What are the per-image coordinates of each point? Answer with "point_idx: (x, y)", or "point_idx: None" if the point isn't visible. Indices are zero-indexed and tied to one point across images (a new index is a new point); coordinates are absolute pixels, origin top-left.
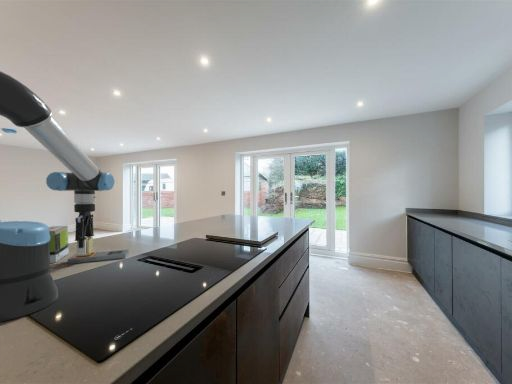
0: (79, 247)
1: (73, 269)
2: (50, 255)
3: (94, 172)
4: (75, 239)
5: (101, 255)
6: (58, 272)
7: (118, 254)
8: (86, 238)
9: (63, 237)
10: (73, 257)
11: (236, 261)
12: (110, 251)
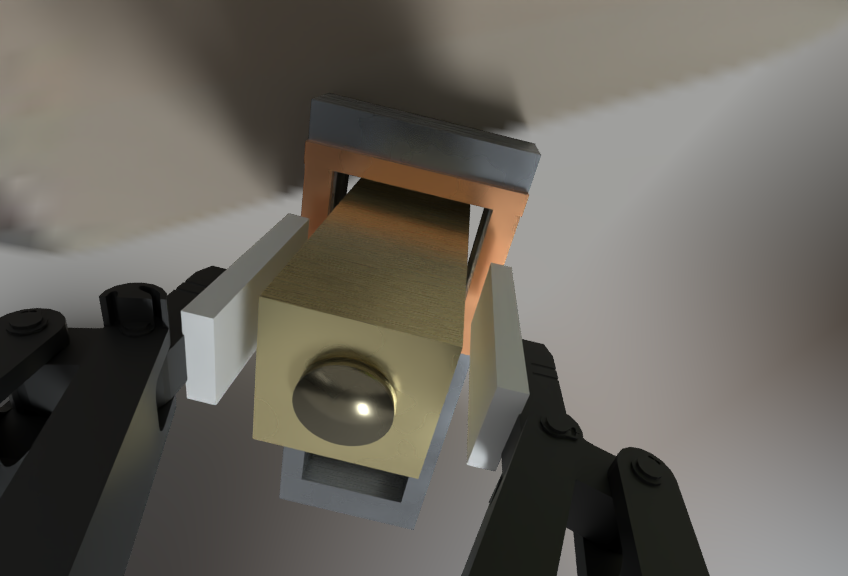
0: (201, 278)
1: (118, 173)
2: None
3: None
4: (4, 317)
5: None
6: (60, 59)
7: (285, 467)
8: (308, 417)
9: None
10: (341, 157)
11: None
12: (433, 436)
